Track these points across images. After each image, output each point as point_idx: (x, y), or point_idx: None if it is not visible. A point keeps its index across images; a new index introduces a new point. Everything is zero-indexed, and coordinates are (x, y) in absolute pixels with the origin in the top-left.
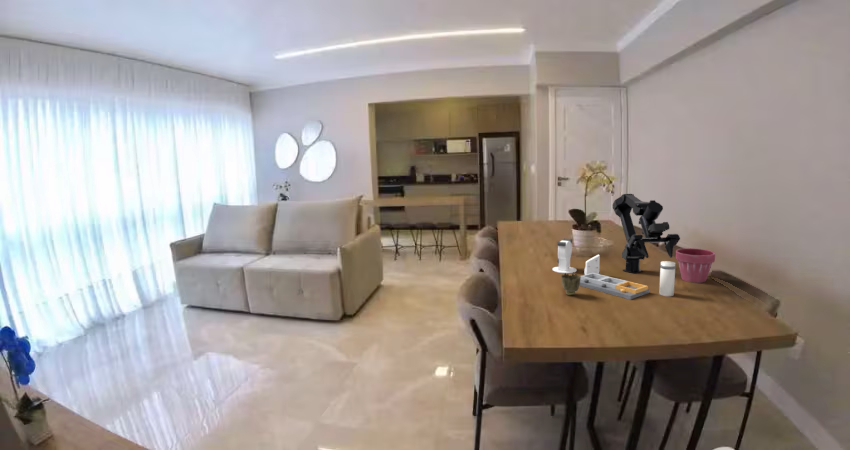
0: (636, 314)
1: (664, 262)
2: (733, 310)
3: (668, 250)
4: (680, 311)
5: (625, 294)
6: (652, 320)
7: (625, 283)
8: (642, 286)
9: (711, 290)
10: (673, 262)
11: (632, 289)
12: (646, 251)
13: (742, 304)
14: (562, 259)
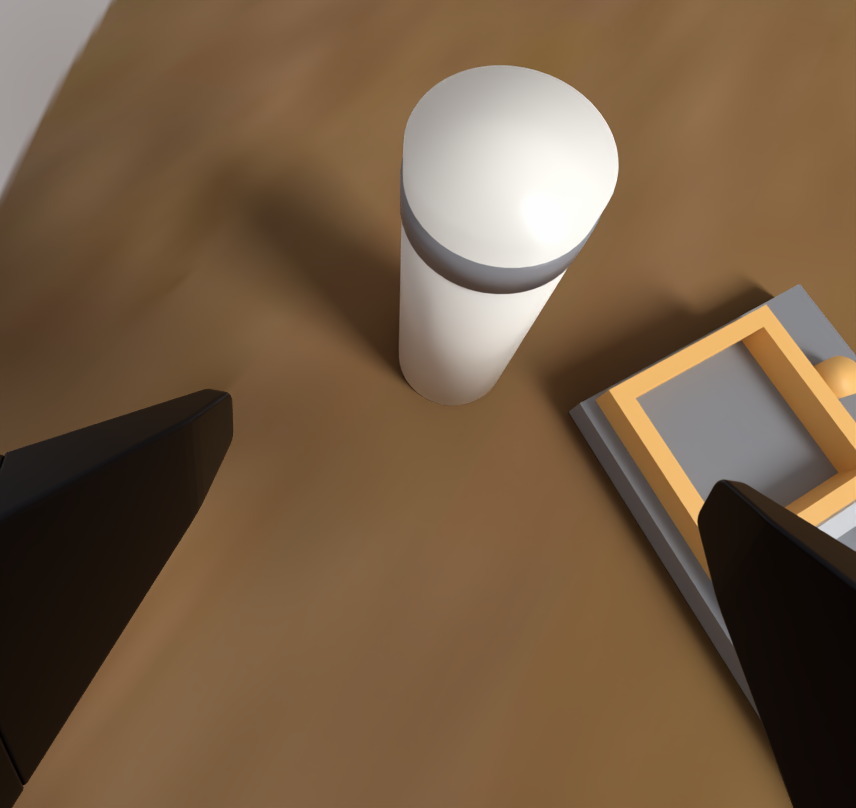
0: (828, 82)
1: (560, 172)
2: (247, 23)
3: (97, 588)
4: (561, 69)
5: (826, 320)
6: (775, 6)
7: None
8: (643, 420)
9: (9, 372)
10: (419, 141)
11: (783, 328)
12: (838, 557)
13: (94, 83)
14: None
